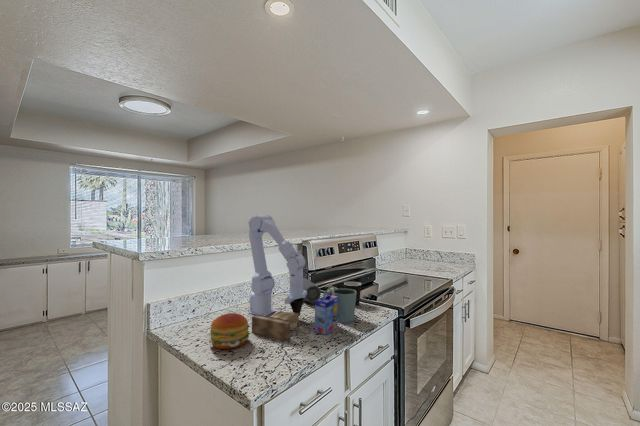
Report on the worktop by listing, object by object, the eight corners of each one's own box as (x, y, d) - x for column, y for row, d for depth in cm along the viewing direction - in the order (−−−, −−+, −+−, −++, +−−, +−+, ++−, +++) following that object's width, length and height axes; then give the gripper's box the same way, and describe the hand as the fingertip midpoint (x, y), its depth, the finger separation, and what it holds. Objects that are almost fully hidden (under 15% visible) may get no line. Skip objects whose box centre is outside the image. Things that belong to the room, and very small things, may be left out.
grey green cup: (327, 319, 124) (327, 291, 124) (342, 313, 132) (342, 286, 132) (346, 325, 118) (346, 295, 117) (361, 319, 125) (361, 290, 125)
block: (270, 328, 115) (270, 316, 115) (280, 322, 121) (280, 311, 121) (287, 332, 111) (287, 319, 111) (297, 326, 117) (297, 314, 117)
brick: (280, 326, 117) (280, 317, 117) (291, 319, 124) (291, 311, 124) (287, 327, 116) (287, 319, 116) (298, 321, 123) (298, 313, 123)
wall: (251, 332, 111) (251, 316, 111) (255, 330, 113) (255, 315, 113) (287, 340, 104) (287, 323, 104) (290, 338, 106) (290, 322, 106)
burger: (210, 355, 94) (209, 324, 94) (208, 339, 106) (207, 311, 106) (252, 347, 99) (252, 318, 99) (245, 332, 112) (245, 306, 111)
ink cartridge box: (326, 335, 108) (326, 296, 108) (314, 332, 111) (313, 294, 111) (339, 326, 117) (338, 290, 117) (326, 323, 120) (326, 288, 120)
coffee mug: (364, 303, 147) (364, 282, 147) (356, 307, 139) (356, 286, 139) (343, 299, 153) (343, 280, 153) (335, 303, 146) (335, 283, 145)
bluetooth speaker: (290, 294, 163) (290, 276, 163) (306, 292, 167) (305, 274, 167) (304, 306, 142) (303, 285, 142) (321, 303, 146) (321, 283, 146)
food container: (337, 316, 128) (337, 293, 128) (323, 315, 130) (323, 292, 130) (340, 307, 140) (340, 286, 140) (328, 306, 142) (328, 285, 142)
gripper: (295, 289, 116) (295, 323, 116) (313, 281, 129) (313, 312, 129) (280, 287, 120) (280, 320, 120) (299, 279, 132) (299, 309, 132)
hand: (296, 316), depth 125 cm, fingers closed
